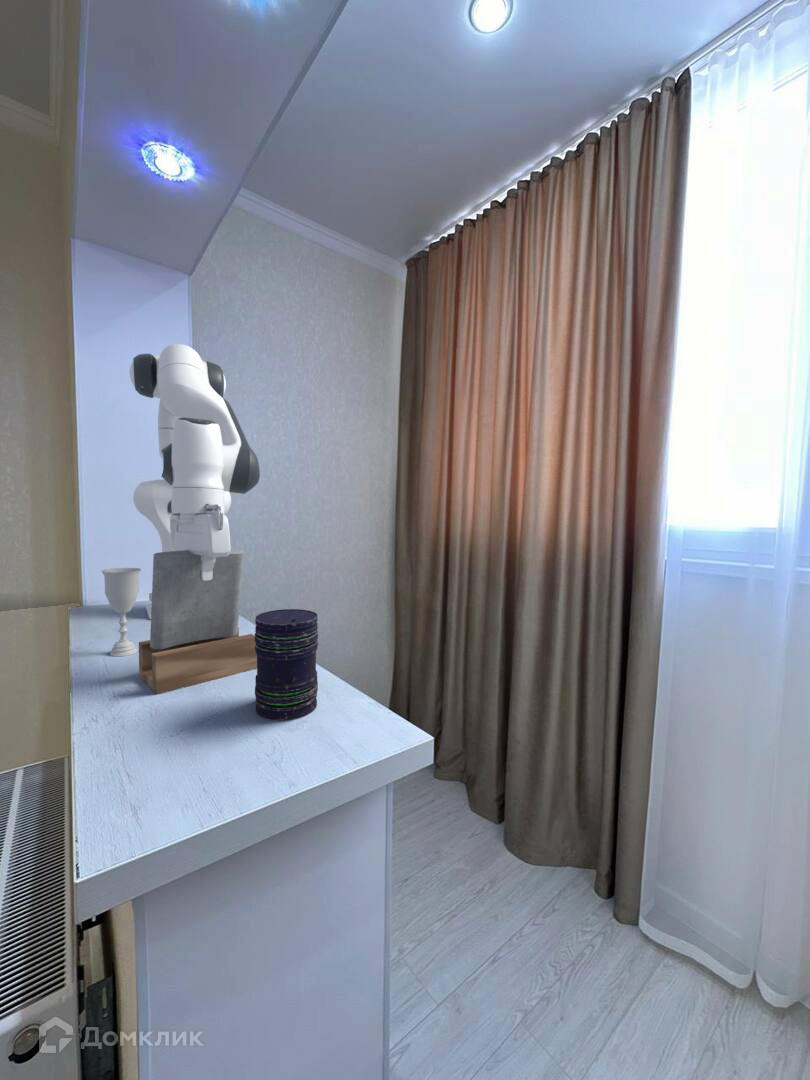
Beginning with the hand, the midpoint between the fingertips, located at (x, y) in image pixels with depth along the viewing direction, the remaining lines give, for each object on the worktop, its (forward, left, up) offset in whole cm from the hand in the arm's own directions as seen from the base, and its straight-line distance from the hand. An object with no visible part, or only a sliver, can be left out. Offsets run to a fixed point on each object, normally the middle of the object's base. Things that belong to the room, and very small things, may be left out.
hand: (199, 578), depth 82 cm
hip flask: (-3, 0, -12) cm, 13 cm away
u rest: (-1, 0, -19) cm, 18 cm away
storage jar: (+23, +5, -19) cm, 30 cm away
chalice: (-23, -8, -19) cm, 31 cm away
